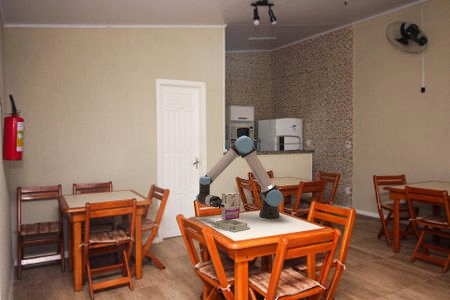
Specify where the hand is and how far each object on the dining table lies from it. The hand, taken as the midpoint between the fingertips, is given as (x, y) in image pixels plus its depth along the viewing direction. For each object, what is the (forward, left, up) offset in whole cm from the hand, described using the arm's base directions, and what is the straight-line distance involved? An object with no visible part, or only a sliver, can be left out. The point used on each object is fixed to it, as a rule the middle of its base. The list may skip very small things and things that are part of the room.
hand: (235, 205), depth 221 cm
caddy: (0, -4, -15) cm, 15 cm away
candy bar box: (0, -5, -9) cm, 10 cm away
